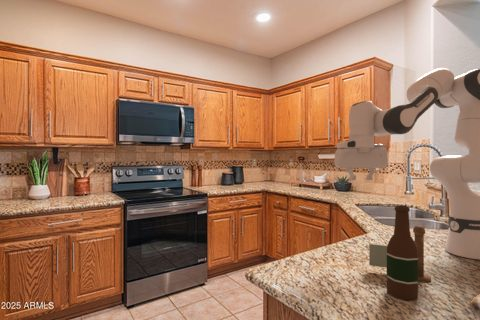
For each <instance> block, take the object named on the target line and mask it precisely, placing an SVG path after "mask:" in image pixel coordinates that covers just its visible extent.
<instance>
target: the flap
mask: <svg viewBox="0 0 480 320" xmlns="http://www.w3.org/2000/svg"><path fill="white" fill-rule="evenodd" d="M368 246H369V247H368V248H369V249H368V250H369V253H368V255H369V256H368V262H369V264H368V265H369V266H372V267H378V268H386V269H387V246H388V244H381V243H371V242H370V243H369V245H368Z"/></svg>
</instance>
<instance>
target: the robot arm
mask: <svg viewBox="0 0 480 320" xmlns="http://www.w3.org/2000/svg"><path fill="white" fill-rule="evenodd" d="M406 98H407V100H408V102H406V104H401V105H397V106H396V105H395V106H394V107H392V108H391V107H390V108H388V109H384V110H383V109H381V108H379V107H377V106H376V105H375V104H373V102H372V100H364V101H359V102H356V103H354V104H352V105H351V106H350V109H349V113H348V114H349V115H348V127H349V133H348V139H346V140H343V141H340V142H338V143H336V145H335V146H336V148H337V149H336V150H335V152H334V164H333V165H334V166H335V168H336V169H337V168H338V169H346V171H347V173H348V175H349V180H350V181H356V180H357V175H354V172H353V171H354V169H368V171H369V172H368V174H366V175H365V177H366V178H365V179H366V180H367V181H373V176H374V174H375V173H376V169H387V168H388V165H389V160H388V159H389V158H388V154H387V147H386V146H385V145H384V144H382V143H379V144H378V143H375V137H382V136H383V137H384V136H392V135H405V134H408V133H409V132H410V131H411V130H412V129H413V128H414V126H415V124H416V123H417V122H418V119H419V118H420V117H421V116H422V115H423V114H424V113H426V112H427V111H428V110H429V109H430V108H431V107H432V106H433V105H435V106H437V107H438V108H441V109H449V108H452V107H455V106H458V108H459V114H458V118H457V122H456V129H455V134H454V141H455V143H456V144H457V145H459V146H460V147H462V148H464V149H467V150H468V154H461V155H460V154H458V155H453V154H452V155H443V156H438V157H435V158H433V159H432V161H431V162H430V165H429V171H430V172H429V173H430V174H431V176H432V177H433V178H434V179H435V180H436V181H438V182H439V183H440V184H441V185H442V187H444V188H443V189H445V191H446V193H447V196H448V203H449V216H448V219H447V221H448V222H447V223H448V229H447V231H448V232H447V235H446V236H447V237H446V243H445V245H444V251H446V252H447V253H449V254H452V255H455V256H458V257H463V258H467V259H473V260H480V194H479V193H477V192H476V191H473V190H472V189H471V188H470V186H469V184H480V68H476V69H473V70H469V71H468V72H466V73H463V74H461V75H458V76H455V75H454V73H453V72H452V71H451V70H449V69H448V68H445V67H442V68H441V67H440V68H436V69H434V70H432V71H429V72H428V73H425V74H424V75H423V76H421V77H419V78H418V79H417V80H415V81H414V82H413V83H412V84H411V85H409V86H408V88H407V90H406Z"/></svg>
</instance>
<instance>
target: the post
mask: <svg viewBox="0 0 480 320" xmlns="http://www.w3.org/2000/svg"><path fill="white" fill-rule="evenodd" d="M412 232H413V234H414V241H415V243H416V246H417V249H418V282H422V283H430V282H431V281H432V277H431V276H430V275H429V274H428V273H425V267H424V266H425V264H424V263H425V262H424V261H425V260H424V259H425V258H424V257H425V255H424V254H425V253H424V252H425V249H424V247H425V243H424V242H425V241H424V240H425V237H424V236H425V234H426V229H425V227H423V226H421V225H415V226H414V227H413V228H412Z"/></svg>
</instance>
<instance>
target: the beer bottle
mask: <svg viewBox="0 0 480 320" xmlns="http://www.w3.org/2000/svg"><path fill="white" fill-rule="evenodd" d="M394 211H395V219H394V232H393V235H392V236H391V237H390V238H389V241H388V243H387V245H388V246H387V268H386V292H387V294H389V296H392V297H393V298H395V299H398V300H402V301H406V302H411V301H417V300H418V297H419V296H418V295H419V281H418V249H417V246H416V243H415V239H413V236H412V234H411V229H410V228H411V227H410V214H409V212H410V211H411V209H410V207H409V206H407V205H401V204H400V205H395V206H394Z"/></svg>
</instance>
